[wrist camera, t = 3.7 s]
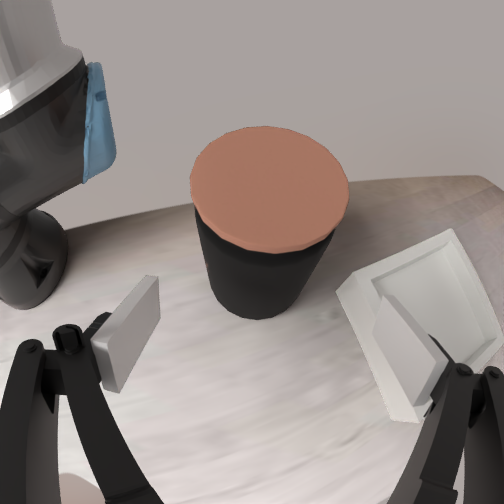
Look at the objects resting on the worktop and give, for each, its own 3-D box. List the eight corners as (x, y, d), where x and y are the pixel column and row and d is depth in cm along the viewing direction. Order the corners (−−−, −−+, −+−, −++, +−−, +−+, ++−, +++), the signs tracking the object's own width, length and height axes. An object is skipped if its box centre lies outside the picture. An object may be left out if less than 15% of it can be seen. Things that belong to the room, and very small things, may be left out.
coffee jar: (244, 225, 38) (251, 109, 22) (315, 269, 35) (371, 169, 19) (192, 287, 33) (155, 189, 17) (267, 340, 31) (301, 284, 15)
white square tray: (334, 292, 34) (352, 272, 29) (428, 249, 38) (451, 227, 32) (389, 420, 27) (419, 423, 21) (476, 351, 31) (505, 341, 25)
